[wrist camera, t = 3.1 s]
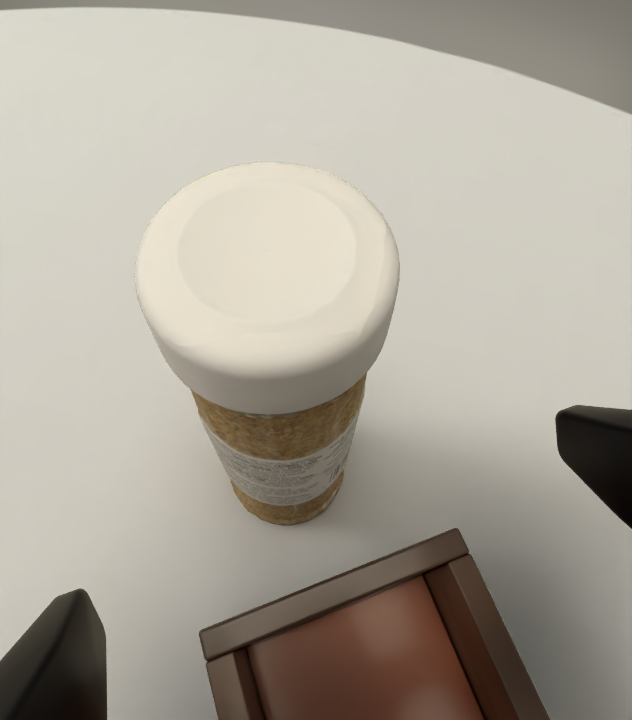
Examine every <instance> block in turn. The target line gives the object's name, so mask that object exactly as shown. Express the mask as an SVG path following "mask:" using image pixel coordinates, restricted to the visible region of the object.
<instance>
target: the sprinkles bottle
mask: <svg viewBox="0 0 632 720" xmlns="http://www.w3.org/2000/svg"><path fill="white" fill-rule="evenodd" d="M399 275H400V262H399V254H398V249H397V245H396V242H395V239H394V236H393V234H392V231H391V229H390V227H389V225H388V223H387V222H386V220H385V218H384V216H383V215H382V214H381V212H380V211H379V210H378V209H377V208H376V207H375V206H374V204H373V203H372V202H371V201H370V200H369V199H368V198H367V197H366V196H365V195H364V194H362V193H361V192H360V191H359V190H357V189H356V188H355V187H353V186H352V185H350V184H348V183H347V182H345V181H344V180H342V179H340V178H338V177H336V176H334V175H331V174H329V173H326V172H324V171H321V170H318V169H315V168H311V167H307V166H303V165H298V164H292V163H283V162H259V163H248V164H242V165H237V166H233V167H229V168H225V169H222V170H219V171H216V172H214V173H211V174H208V175H206V176H204V177H202V178H200V179H198V180H196V181H194V182H192V183H190V184H189V185H187V186H186V187H184V188H183V189H181V190H180V191H178V192H177V193H176V194H175V195H174V196H173V197H172V198H170V199H169V200H168V201H167V202H166V203H165V204H164V205H163V206H162V207H161V208H160V210H159V211H158V212H157V213H156V214H155V216H154V217H153V218H152V220H151V222H150V223H149V225H148V226H147V228H146V230H145V232H144V235H143V237H142V239H141V242H140V244H139V247H138V251H137V255H136V262H135V284H136V291H137V297H138V301H139V304H140V307H141V309H142V311H143V314H144V316H145V318H146V321H147V323H148V325H149V327H150V330H151V332H152V334H153V336H154V338H155V340H156V342H157V344H158V346H159V348H160V350H161V352H162V354H163V356H164V358H165V360H166V362H167V363H168V365H169V366H170V368H171V369H172V371H173V372H174V373H175V374H176V375H177V376H178V378H179V379H180V380H181V381H182V382H183V383H184V384H185V385H186V386H187V387H189V388H190V390H191V391H192V395H193V397H194V399H195V402H196V404H197V407H198V413H199V417H200V419H201V421H202V423H203V425H204V427H205V430H206V432H207V434H208V436H209V438H210V440H211V442H212V444H213V446H214V448H215V450H216V452H217V454H218V456H219V458H220V460H221V462H222V464H223V466H224V468H225V470H226V472H227V474H228V475H229V477H230V479H231V483H232V486H233V489H234V491H235V493H236V495H237V497H238V498H239V500H240V501H241V502H242V504H243V505H244V507H245V508H246V509H247V510H248V511H249V512H251V513H252V514H254V515H256V516H257V517H259V518H260V519H262V520H265V521H268V522H271V523H273V524H283V525H292V524H295V523H300V522H304V521H307V520H309V519H311V518H313V517H315V516H316V515H318V514H319V513H321V512H322V511H323V510H325V509H326V508H327V507H328V506H329V505H330V504H331V502H332V500H333V499H334V497H335V495H336V494H337V492H338V490H339V487H340V485H341V483H342V479H343V467H344V465H345V462H346V460H347V456H348V453H349V449H350V446H351V442H352V438H353V434H354V430H355V427H356V423H357V419H358V416H359V412H360V408H361V404H362V401H363V397H364V390H365V380H366V375H367V371H368V370H369V369H370V368H371V366H372V365H373V363H374V362H375V361H376V359H377V357H378V355H379V353H380V351H381V349H382V347H383V344H384V341H385V339H386V336H387V332H388V329H389V325H390V321H391V318H392V314H393V310H394V305H395V300H396V295H397V290H398V285H399Z"/></svg>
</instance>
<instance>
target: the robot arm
mask: <svg viewBox="0 0 632 720" xmlns="http://www.w3.org/2000/svg"><path fill="white" fill-rule="evenodd" d="M555 421H556V433H557V446H558V451H559V454H560V456H561V458H562V459H563V461H564V462H565V463H566V464H567V465H568V466H569V467H570V468H571V469H572V470H573V471H574V472H575V473H576V474H577V475H578V476H579V477H580V478H581V479H582V480H583V481H584V483H585V484H586V485H587V486H588V487H589V488H590V489H591V490H592V491H593V492H594V493H595V494H596V495H597V496H598V497H599V498H600V499H601V500H602V501H603V502H604V503H605V504H606V505H607V506H608V507H609V508H610V509H611V510H612V511H613V512H614V513H615V514H616V515H617V516H618V517H619V518H620V519H621V520H622V521H624V522H625V523H626V524H627V525H628V526H629V527H630V528H631V529H632V410H626V409H615V408H604V407H593V406H583V405H575V406H572V407H569V408H566V409H564V410H561V411H559V412H558V413H557V415H556V419H555ZM0 720H107V672H106V635H105V630H104V627H103V624H102V622H101V620H100V618H99V616H98V614H97V612H96V610H95V608H94V606H93V603H92V601H91V599H90V597H89V595H88V594H87V592H86V591H85V590H83V589H77V590H74V591H71V592H68V593H66V594H63V595H60V596H58V597H56V598H55V599H54V600H53V601H52V602H51V604H50V605H49V606H48V607H47V608H46V609H45V610H44V612H43V613H42V614H41V615H40V616H39V617H38V618H37V620H36V621H35V622H34V623H33V624H32V625H31V626H30V628H29V629H28V630H27V631H26V632H25V633H24V634H23V636H22V637H21V638H20V639H19V640H18V641H17V642H16V644H15V645H14V646H13V647H12V648H11V649H10V650H9V652H8V653H7V654H6V655H5V656H4V657H3V658H2V660H1V661H0Z"/></svg>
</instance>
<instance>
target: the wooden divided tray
mask: <svg viewBox="0 0 632 720" xmlns="http://www.w3.org/2000/svg"><path fill="white" fill-rule="evenodd" d="M468 553H469V550H468V548H467V546H466V543H465V541H464V539H463V537H462V535H461V533H460V531H459V529H458V528H454V529H451V530H449V531H446V532H444V533H441V534H439V535H436V536H434V537H431V538H429V539H426V540H424V541H422V542H419V543H417V544H414V545H412V546H409V547H407V548H404V549H402V550H399V551H397V552H394V553H392V554H389V555H387V556H384V557H382V558H379V559H377V560H374V561H372V562H369V563H367V564H364V565H362V566H359V567H357V568H354V569H352V570H349V571H347V572H344V573H342V574H339V575H337V576H334V577H332V578H329V579H327V580H324V581H322V582H319V583H317V584H314V585H312V586H309V587H307V588H304V589H302V590H299V591H297V592H294V593H292V594H289V595H287V596H284V597H282V598H279V599H277V600H274V601H272V602H269V603H267V604H264V605H262V606H259V607H257V608H254V609H252V610H249V611H247V612H244V613H242V614H239V615H237V616H234V617H232V618H229V619H227V620H224V621H222V622H219V623H217V624H214V625H212V626H209V627H207V628H204V629H202V630H201V631H200V632H199V637H200V642H201V646H202V650H203V654H204V659H205V660H206V661H208V662H207V663H206V668H207V672H208V677H209V681H210V685H211V690H212V694H213V698H214V702H215V707H216V711H217V715H218V720H550V719H549V717H548V715H547V713H546V710H545V708H544V706H543V704H542V702H541V700H540V698H539V696H538V694H537V692H536V689H535V687H534V685H533V683H532V681H531V679H530V677H529V675H528V673H527V671H526V669H525V666H524V664H523V662H522V660H521V658H520V656H519V654H518V652H517V650H516V648H515V646H514V643H513V641H512V639H511V637H510V635H509V633H508V631H507V629H506V627H505V625H504V622H503V620H502V618H501V616H500V614H499V612H498V610H497V608H496V606H495V604H494V602H493V599H492V597H491V595H490V593H489V591H488V589H487V587H486V585H485V583H484V581H483V579H482V576H481V574H480V572H479V570H478V568H477V566H476V564H475V562H474V560H473V558H472V556H471V554H468Z"/></svg>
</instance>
